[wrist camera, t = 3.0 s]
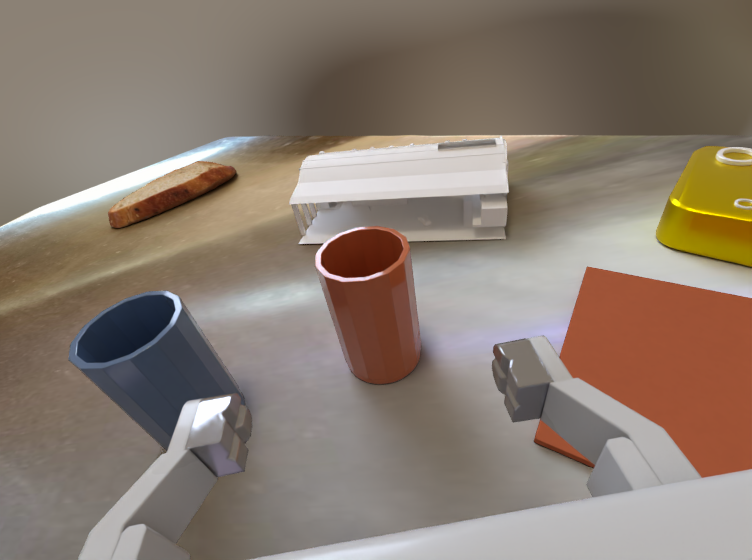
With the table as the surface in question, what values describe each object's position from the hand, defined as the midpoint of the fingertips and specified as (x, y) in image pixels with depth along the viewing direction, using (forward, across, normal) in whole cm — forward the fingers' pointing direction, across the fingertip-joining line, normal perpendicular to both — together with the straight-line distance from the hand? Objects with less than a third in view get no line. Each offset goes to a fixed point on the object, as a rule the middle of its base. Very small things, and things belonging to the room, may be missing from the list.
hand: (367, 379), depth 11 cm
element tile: (+18, +37, -13) cm, 44 cm away
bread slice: (+54, -30, -13) cm, 64 cm away
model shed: (+35, +5, -13) cm, 38 cm away
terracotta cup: (+12, 0, -13) cm, 18 cm away
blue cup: (+9, -14, -13) cm, 21 cm away
